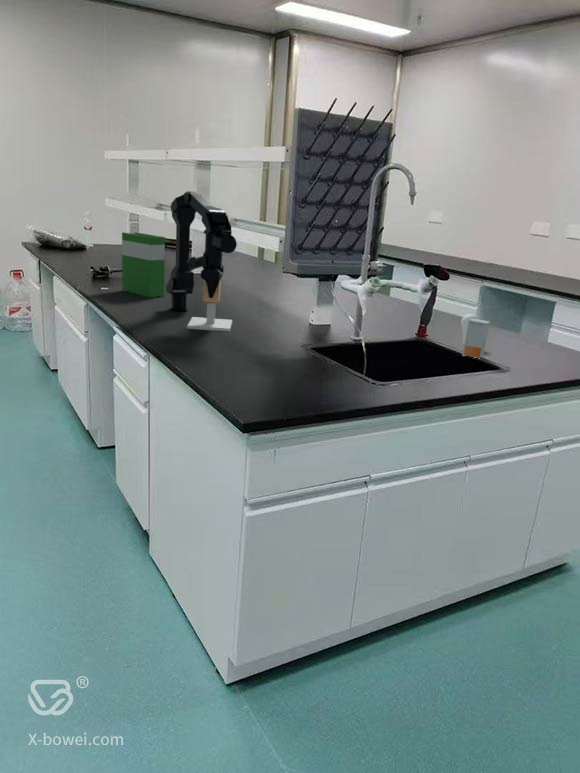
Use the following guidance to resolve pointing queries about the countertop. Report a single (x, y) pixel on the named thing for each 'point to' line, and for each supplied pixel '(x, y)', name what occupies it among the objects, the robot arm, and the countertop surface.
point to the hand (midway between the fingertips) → (211, 296)
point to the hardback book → (143, 264)
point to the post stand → (210, 321)
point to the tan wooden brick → (215, 298)
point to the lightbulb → (466, 324)
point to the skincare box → (476, 338)
